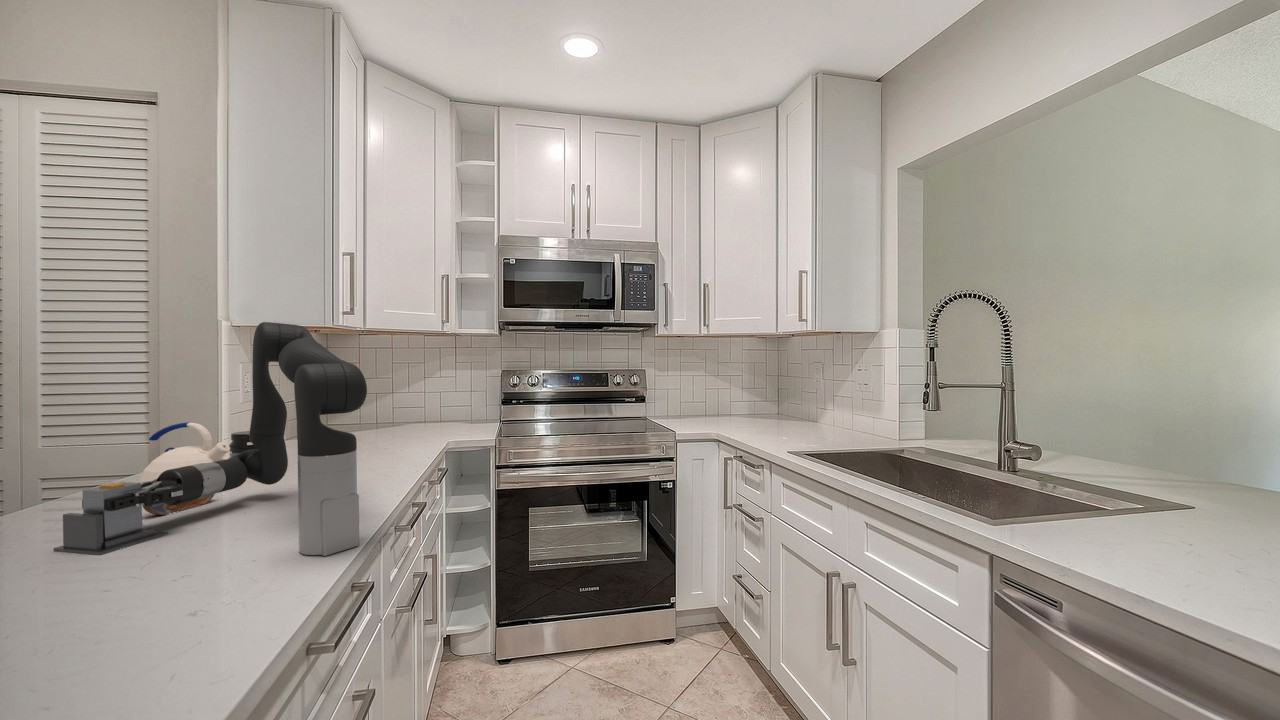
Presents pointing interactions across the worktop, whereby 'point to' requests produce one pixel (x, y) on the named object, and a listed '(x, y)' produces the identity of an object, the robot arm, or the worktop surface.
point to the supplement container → (240, 443)
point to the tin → (166, 509)
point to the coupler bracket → (96, 535)
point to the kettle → (184, 453)
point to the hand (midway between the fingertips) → (96, 504)
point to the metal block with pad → (118, 520)
